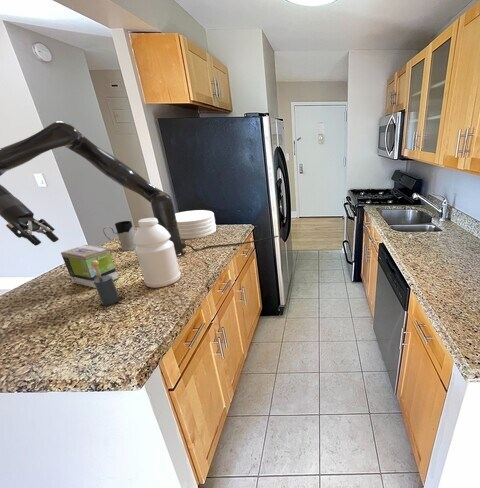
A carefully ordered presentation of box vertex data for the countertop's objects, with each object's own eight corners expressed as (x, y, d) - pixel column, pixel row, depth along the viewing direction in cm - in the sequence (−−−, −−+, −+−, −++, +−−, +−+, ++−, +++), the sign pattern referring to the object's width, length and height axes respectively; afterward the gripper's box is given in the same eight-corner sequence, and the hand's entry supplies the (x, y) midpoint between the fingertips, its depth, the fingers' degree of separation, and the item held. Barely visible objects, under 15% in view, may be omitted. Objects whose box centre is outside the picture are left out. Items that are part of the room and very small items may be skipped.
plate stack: (188, 224, 191) (185, 209, 186) (223, 226, 187) (221, 210, 183) (160, 238, 165) (156, 220, 161) (201, 240, 161) (198, 222, 157)
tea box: (119, 277, 117) (109, 247, 112) (95, 289, 108) (82, 256, 103) (97, 272, 122) (86, 243, 116) (71, 283, 113) (58, 252, 108)
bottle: (143, 291, 107) (123, 226, 96) (146, 276, 118) (129, 217, 108) (181, 283, 113) (166, 221, 102) (181, 270, 124) (168, 213, 114)
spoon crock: (121, 296, 103) (107, 256, 97) (118, 303, 99) (103, 261, 92) (104, 299, 101) (88, 258, 95) (100, 307, 97) (83, 264, 90)
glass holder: (138, 248, 149) (131, 223, 143) (107, 253, 143) (98, 227, 137) (140, 243, 156) (133, 219, 150) (111, 247, 150) (103, 223, 144)
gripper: (1, 203, 92) (40, 239, 96) (36, 203, 106) (69, 234, 110) (-17, 216, 91) (23, 251, 96) (20, 214, 105) (54, 245, 109)
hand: (47, 242), depth 103 cm, fingers open, 8 cm apart
